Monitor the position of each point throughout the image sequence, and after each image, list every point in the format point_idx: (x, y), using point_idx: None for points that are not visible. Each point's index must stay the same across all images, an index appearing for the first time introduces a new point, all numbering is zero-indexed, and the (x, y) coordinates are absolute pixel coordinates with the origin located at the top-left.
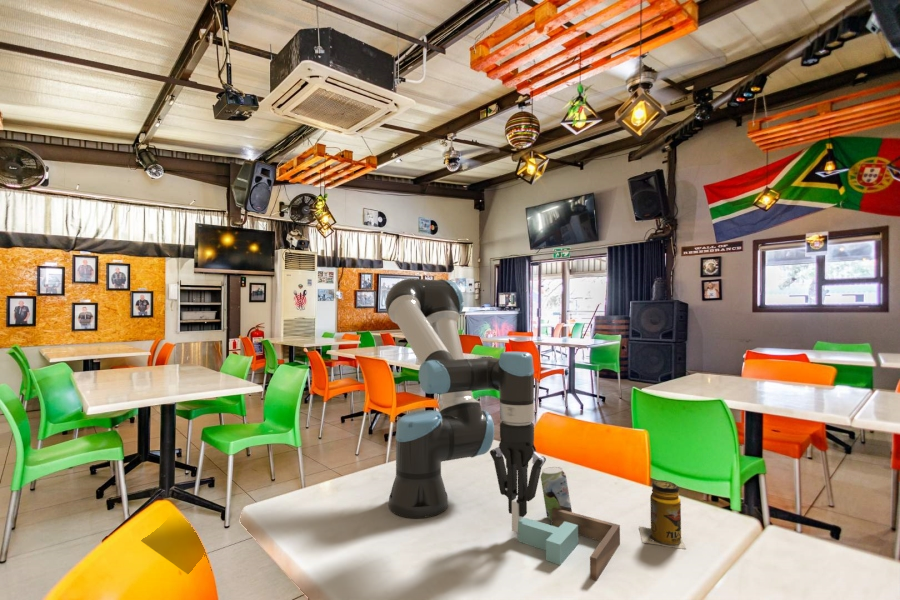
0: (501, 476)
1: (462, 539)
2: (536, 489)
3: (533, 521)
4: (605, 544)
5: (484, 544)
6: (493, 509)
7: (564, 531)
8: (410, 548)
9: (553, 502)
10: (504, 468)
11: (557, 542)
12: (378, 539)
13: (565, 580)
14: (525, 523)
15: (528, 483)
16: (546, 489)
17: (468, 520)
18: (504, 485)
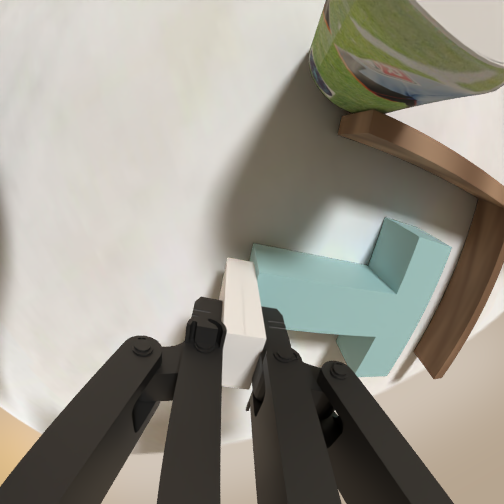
0: (115, 475)
1: (97, 331)
2: (376, 402)
3: (305, 290)
4: (476, 319)
5: (157, 336)
6: (83, 92)
7: (410, 310)
8: (54, 382)
9: (385, 106)
10: (81, 487)
11: (381, 372)
12: (6, 365)
13: (370, 377)
14: None
15: (337, 485)
16: (380, 77)
17: (48, 221)
18: (144, 424)
